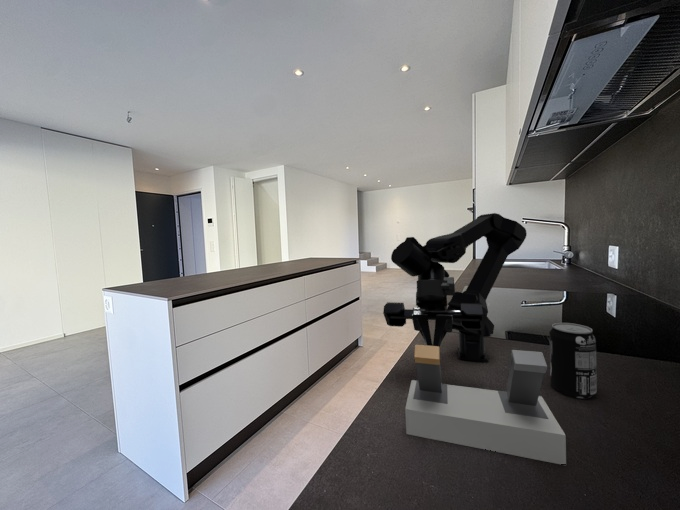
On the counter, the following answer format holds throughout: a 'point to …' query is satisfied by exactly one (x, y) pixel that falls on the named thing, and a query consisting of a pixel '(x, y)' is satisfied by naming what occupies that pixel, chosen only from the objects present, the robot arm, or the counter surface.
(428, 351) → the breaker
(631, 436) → the counter surface
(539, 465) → the counter surface
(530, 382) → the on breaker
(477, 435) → the grey mounting base
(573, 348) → the beverage can
